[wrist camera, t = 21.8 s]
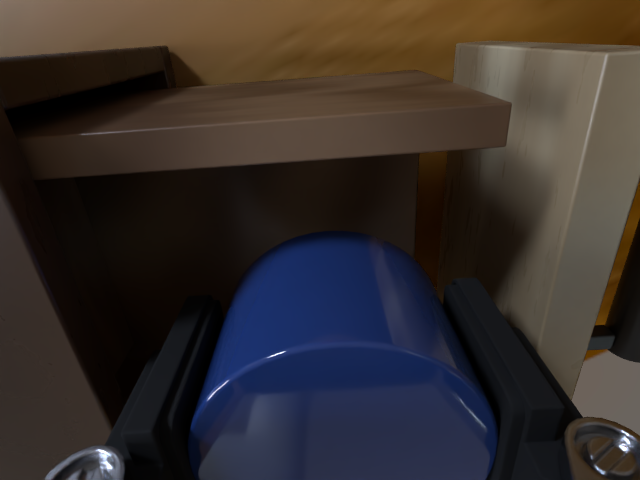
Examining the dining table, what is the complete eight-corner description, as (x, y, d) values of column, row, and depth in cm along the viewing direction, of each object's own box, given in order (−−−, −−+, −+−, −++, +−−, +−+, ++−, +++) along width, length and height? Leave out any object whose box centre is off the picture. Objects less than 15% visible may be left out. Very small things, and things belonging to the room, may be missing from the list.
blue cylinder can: (431, 391, 12) (481, 541, 8) (246, 402, 12) (217, 555, 9) (445, 221, 9) (525, 332, 6) (210, 237, 10) (148, 355, 6)
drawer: (643, 28, 13) (1005, 23, 6) (564, 325, 19) (710, 493, 12) (35, 75, 14) (-253, 117, 7) (135, 351, 19) (36, 528, 12)
